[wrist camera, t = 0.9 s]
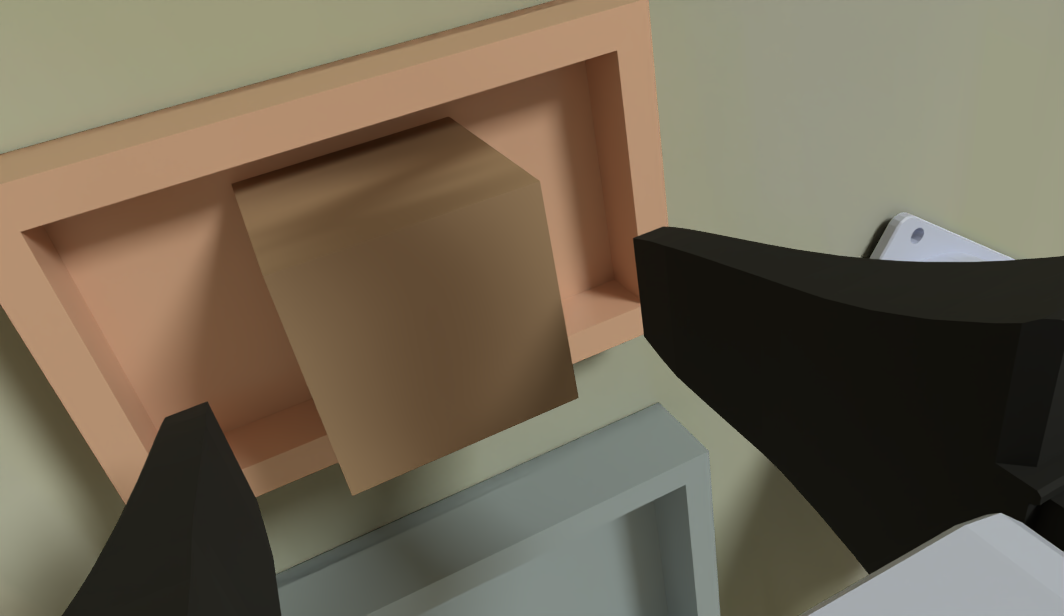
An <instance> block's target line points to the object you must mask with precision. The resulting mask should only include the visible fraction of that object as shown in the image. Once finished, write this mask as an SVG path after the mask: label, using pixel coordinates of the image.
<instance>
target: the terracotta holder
mask: <svg viewBox="0 0 1064 616" xmlns="http://www.w3.org/2000/svg"><path fill="white" fill-rule="evenodd" d="M445 117H450V118H452V119H453V120H454V121H456V122H457V123H459V124H460V125H462V126H463V127H464V128H466V129H467V130H469V131H470V132H471V133H473V134H474V135H476V136H477V137H478V138H480V139H481V140H483V141H484V142H486V143H487V144H488V145H490V146H491V147H493V148H494V149H495V150H497V151H498V152H500V153H501V154H503V155H504V156H505V157H507V158H508V159H510V160H511V161H512V162H514V163H515V164H517V165H518V166H519V167H521V168H522V169H524V170H525V171H527V172H528V173H529V174H531V175H532V176H534V177H535V178H536V179H538V180H539V181H540V185H541V190H542V196H543V201H544V207H545V213H546V218H547V224H548V229H549V235H550V241H551V246H552V252H553V257H554V263H555V269H556V274H557V280H558V286H559V291H560V297H561V302H562V308H563V314H564V319H565V325H566V330H567V336H568V342H569V347H570V353H571V358H572V364H574V363H576V362H579V361H581V360H583V359H586V358H588V357H591V356H593V355H595V354H598V353H600V352H602V351H605V350H607V349H610V348H612V347H614V346H617V345H619V344H621V343H624V342H626V341H629V340H631V339H633V338H636V337H638V336H641V335H643V334H644V332H643V323H642V314H641V305H640V297H639V288H638V279H637V270H636V262H635V253H634V244H633V238H634V237H637V236H640V235H642V234H645V233H647V232H650V231H653V230H655V229H658V228H660V227H663V226H665V227H668V217H667V205H666V194H665V183H664V171H663V160H662V149H661V137H660V126H659V115H658V103H657V92H656V81H655V69H654V58H653V46H652V35H651V24H650V12H649V1H648V0H554V1H550V2H547V3H543V4H540V5H536V6H532V7H529V8H525V9H522V10H518V11H514V12H511V13H507V14H504V15H500V16H496V17H493V18H489V19H486V20H482V21H478V22H475V23H471V24H468V25H464V26H460V27H457V28H453V29H450V30H446V31H442V32H439V33H435V34H432V35H428V36H424V37H421V38H417V39H414V40H410V41H406V42H403V43H399V44H396V45H392V46H388V47H385V48H381V49H378V50H374V51H370V52H367V53H363V54H360V55H356V56H352V57H349V58H345V59H342V60H338V61H334V62H331V63H327V64H324V65H320V66H316V67H313V68H309V69H306V70H302V71H298V72H295V73H291V74H288V75H284V76H280V77H277V78H273V79H270V80H266V81H262V82H259V83H255V84H252V85H248V86H244V87H241V88H237V89H234V90H230V91H226V92H223V93H219V94H216V95H212V96H208V97H205V98H201V99H198V100H194V101H190V102H187V103H183V104H180V105H176V106H172V107H169V108H165V109H161V110H158V111H154V112H151V113H147V114H143V115H140V116H136V117H133V118H129V119H125V120H122V121H118V122H115V123H111V124H107V125H104V126H100V127H97V128H93V129H89V130H86V131H82V132H79V133H75V134H71V135H68V136H64V137H61V138H57V139H53V140H50V141H46V142H43V143H39V144H35V145H32V146H28V147H25V148H21V149H17V150H14V151H10V152H7V153H3V154H0V304H1V306H2V307H3V309H4V311H5V312H6V314H7V315H8V317H9V319H10V320H11V322H12V323H13V325H14V327H15V328H16V330H17V331H18V333H19V335H20V336H21V338H22V339H23V341H24V343H25V344H26V346H27V347H28V349H29V351H30V352H31V354H32V355H33V357H34V359H35V360H36V362H37V363H38V365H39V367H40V368H41V370H42V371H43V373H44V375H45V376H46V378H47V380H48V381H49V383H50V384H51V386H52V388H53V389H54V391H55V392H56V394H57V396H58V397H59V399H60V400H61V402H62V404H63V405H64V407H65V408H66V410H67V412H68V413H69V415H70V416H71V418H72V420H73V421H74V423H75V424H76V426H77V428H78V429H79V431H80V432H81V434H82V436H83V437H84V439H85V440H86V442H87V444H88V445H89V447H90V448H91V450H92V452H93V453H94V455H95V456H96V458H97V460H98V461H99V463H100V464H101V466H102V468H103V469H104V471H105V472H106V474H107V476H108V477H109V479H110V480H111V482H112V484H113V485H114V487H115V488H116V490H117V492H118V493H119V495H120V496H121V498H122V500H123V501H124V503H125V504H126V503H127V501H128V499H129V497H130V495H131V493H132V491H133V489H134V486H135V484H136V482H137V480H138V478H139V475H140V473H141V471H142V468H143V466H144V464H145V461H146V459H147V457H148V454H149V452H150V449H151V447H152V445H153V442H154V440H155V437H156V435H157V433H158V430H159V428H160V426H161V424H162V422H163V420H164V418H165V417H168V416H170V415H173V414H175V413H178V412H181V411H183V410H186V409H188V408H191V407H194V406H196V405H199V404H201V403H204V402H207V401H208V403H209V405H210V407H211V409H212V411H213V413H214V415H215V417H216V419H217V421H218V423H219V425H220V427H221V429H222V431H223V433H224V435H225V437H226V439H227V441H228V443H229V445H230V447H231V449H232V451H233V453H234V455H235V457H236V459H237V461H238V463H239V465H240V467H241V469H242V471H243V473H244V475H245V477H246V479H247V481H248V483H249V485H250V487H251V489H252V491H253V493H254V495H255V497H258V496H260V495H262V494H265V493H267V492H269V491H272V490H274V489H277V488H279V487H281V486H284V485H286V484H288V483H291V482H293V481H296V480H298V479H300V478H303V477H305V476H307V475H310V474H312V473H315V472H317V471H319V470H322V469H324V468H327V467H329V466H331V465H334V464H336V463H338V460H337V457H336V455H335V452H334V450H333V447H332V445H331V442H330V440H329V437H328V435H327V433H326V430H325V428H324V425H323V423H322V420H321V418H320V415H319V413H318V410H317V408H316V405H315V403H314V401H313V398H312V396H311V393H310V391H309V388H308V386H307V383H306V381H305V378H304V376H303V374H302V371H301V369H300V366H299V364H298V361H297V359H296V356H295V354H294V351H293V349H292V346H291V344H290V342H289V339H288V337H287V334H286V332H285V329H284V327H283V324H282V322H281V319H280V317H279V315H278V312H277V310H276V307H275V305H274V302H273V300H272V297H271V295H270V292H269V290H268V287H267V285H266V283H265V280H264V278H263V275H262V272H261V269H260V266H259V263H258V260H257V258H256V255H255V252H254V249H253V246H252V243H251V240H250V237H249V234H248V231H247V229H246V226H245V223H244V220H243V217H242V214H241V211H240V208H239V205H238V202H237V200H236V197H235V194H234V191H233V188H232V185H231V184H232V183H236V182H239V181H242V180H245V179H248V178H252V177H255V176H258V175H261V174H265V173H268V172H271V171H274V170H278V169H281V168H284V167H287V166H290V165H294V164H297V163H300V162H303V161H307V160H310V159H313V158H316V157H320V156H323V155H326V154H329V153H332V152H336V151H339V150H342V149H345V148H349V147H352V146H355V145H358V144H362V143H365V142H368V141H371V140H374V139H378V138H381V137H384V136H387V135H391V134H394V133H397V132H400V131H403V130H407V129H410V128H413V127H416V126H420V125H423V124H426V123H429V122H433V121H436V120H439V119H442V118H445Z"/></svg>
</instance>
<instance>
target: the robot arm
mask: <svg viewBox="0 0 1064 616" xmlns="http://www.w3.org/2000/svg"><path fill="white" fill-rule="evenodd" d="M633 244H634V253H635V262H636V270H637V279H638V288H639V297H640V305H641V314H642V323H643V332H644V337H645V338H646V339H647V341H648V342H649V343H650V344H651V346H652V347H653V348H654V350H655V351H656V352H657V353H658V355H659V356H660V357H661V358H662V360H663V361H664V362H665V363H666V364H667V365H668V367H669V368H670V369H671V370H672V371H673V372H674V374H675V375H676V376H677V377H678V378H679V379H680V380H681V381H682V382H684V383H685V384H686V385H687V386H688V387H689V388H690V389H691V390H692V391H693V392H694V393H696V394H697V395H698V396H699V397H700V398H701V399H702V400H703V401H704V402H705V403H707V404H708V405H709V406H710V407H711V408H712V409H713V410H714V411H716V412H717V413H718V414H719V415H720V416H721V417H722V418H723V419H725V420H726V421H727V422H728V423H729V424H730V425H731V426H732V427H734V428H735V429H736V430H737V431H738V432H739V433H740V434H741V435H743V436H744V437H745V438H746V439H747V440H748V441H749V442H750V443H752V444H753V445H754V446H755V447H756V448H757V449H758V450H759V451H761V452H762V453H763V454H764V455H765V456H766V457H767V458H768V459H769V460H770V461H771V462H772V463H773V464H774V465H775V466H776V467H777V468H778V469H779V470H780V471H781V472H782V473H783V474H784V475H785V476H786V477H787V478H788V480H789V481H790V482H791V483H792V484H793V485H794V486H795V487H796V489H797V490H798V491H799V492H800V493H801V494H802V495H803V496H804V497H805V499H806V500H807V501H808V502H809V503H810V504H811V505H812V506H813V507H814V509H815V510H816V511H817V512H818V513H819V514H820V516H821V517H822V518H823V519H824V520H825V521H826V523H827V524H828V525H829V526H830V527H831V529H832V530H833V531H834V532H835V533H836V535H837V536H838V537H839V538H840V539H841V541H842V542H843V543H844V544H845V545H846V546H847V548H848V549H849V550H850V551H851V552H852V554H853V555H854V556H855V557H856V559H857V560H858V561H859V562H860V564H861V565H862V566H863V567H864V569H865V570H866V571H867V573H868V574H869V575H868V576H866V577H864V578H863V579H861V580H859V581H858V582H856V583H854V584H852V585H851V586H849V587H847V588H845V589H844V590H842V591H840V592H838V593H837V594H835V595H833V596H831V597H830V598H828V599H826V600H824V601H823V602H821V603H819V604H817V605H816V606H814V607H812V608H810V609H809V610H807V611H805V612H803V613H802V614H800V615H798V616H1064V256H1060V257H1049V258H1035V259H1020V260H1015V259H1013V258H1011V257H1008V256H1006V255H1004V254H1001V253H999V252H997V251H994V250H992V249H990V248H987V247H985V246H983V245H981V244H978V243H976V242H974V241H971V240H969V239H967V238H964V237H962V236H960V235H958V234H955V233H953V232H951V231H948V230H946V229H944V228H941V227H939V226H937V225H935V224H932V223H930V222H928V221H925V220H923V219H921V218H918V217H916V216H914V215H911V214H909V213H905V212H902V213H899V214H897V215H896V216H895V217H893V218H892V219H891V221H890V222H889V224H888V225H887V227H886V229H885V231H884V233H883V235H882V236H881V238H880V240H879V242H878V244H877V246H876V247H875V249H874V251H873V253H872V255H871V257H870V258H869V259H868V258H856V257H847V256H838V255H831V254H824V253H817V252H810V251H803V250H797V249H791V248H785V247H779V246H774V245H768V244H763V243H758V242H752V241H747V240H742V239H737V238H732V237H727V236H722V235H717V234H712V233H707V232H701V231H696V230H690V229H684V228H676V227H665V226H663V227H660V228H658V229H655V230H653V231H650V232H647V233H645V234H642V235H640V236H637V237H634V238H633ZM62 616H281V609H280V601H279V594H278V588H277V581H276V574H275V567H274V560H273V555H272V551H271V548H270V544H269V540H268V537H267V533H266V530H265V526H264V523H263V519H262V516H261V512H260V509H259V505H258V502H257V499H256V497H255V495H254V493H253V491H252V489H251V487H250V485H249V483H248V481H247V479H246V477H245V475H244V473H243V471H242V469H241V467H240V465H239V463H238V461H237V459H236V457H235V455H234V453H233V451H232V449H231V447H230V445H229V443H228V441H227V439H226V437H225V435H224V433H223V431H222V429H221V427H220V425H219V423H218V421H217V419H216V417H215V415H214V413H213V411H212V409H211V407H210V405H209V403H208V401H207V402H204V403H201V404H199V405H196V406H194V407H191V408H188V409H186V410H183V411H181V412H178V413H175V414H173V415H170V416H168V417H165V418H164V420H163V422H162V424H161V426H160V428H159V430H158V433H157V435H156V437H155V440H154V442H153V445H152V447H151V449H150V452H149V454H148V457H147V459H146V461H145V464H144V466H143V468H142V471H141V473H140V475H139V478H138V480H137V482H136V484H135V486H134V489H133V491H132V493H131V495H130V497H129V499H128V501H127V503H126V505H125V508H124V510H123V512H122V514H121V516H120V518H119V520H118V522H117V524H116V526H115V528H114V530H113V532H112V534H111V535H110V537H109V539H108V541H107V543H106V545H105V546H104V548H103V550H102V552H101V554H100V556H99V557H98V559H97V561H96V563H95V565H94V567H93V568H92V570H91V572H90V574H89V575H88V577H87V579H86V580H85V582H84V583H83V585H82V586H81V588H80V590H79V591H78V593H77V594H76V596H75V597H74V599H73V600H72V602H71V603H70V605H69V606H68V608H67V609H66V610H65V612H64V613H63V615H62Z"/></svg>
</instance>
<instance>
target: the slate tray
mask: <svg viewBox="0 0 1064 616" xmlns="http://www.w3.org/2000/svg"><path fill="white" fill-rule="evenodd" d="M276 581H277V588H278V594H279V601H280V609H281V616H720V604H719V590H718V576H717V561H716V547H715V532H714V518H713V504H712V489H711V475H710V460H709V451H708V450H707V449H706V448H705V447H704V446H703V445H702V444H701V443H700V442H699V441H698V440H697V439H696V438H695V437H694V436H693V435H692V434H691V433H690V432H689V431H688V430H687V429H686V428H685V427H684V426H683V425H681V424H680V423H679V422H678V421H677V420H676V419H675V418H674V417H673V416H672V415H671V414H670V413H669V412H668V411H667V410H666V409H665V408H664V407H663V406H662V405H661V404H660V403H656V404H654V405H652V406H650V407H647V408H645V409H643V410H641V411H639V412H636V413H634V414H632V415H630V416H627V417H625V418H623V419H621V420H619V421H616V422H614V423H612V424H610V425H608V426H605V427H603V428H601V429H599V430H596V431H594V432H592V433H590V434H588V435H585V436H583V437H581V438H579V439H576V440H574V441H572V442H570V443H568V444H565V445H563V446H561V447H559V448H556V449H554V450H552V451H550V452H548V453H545V454H543V455H541V456H539V457H536V458H534V459H532V460H530V461H528V462H525V463H523V464H521V465H519V466H516V467H514V468H512V469H510V470H508V471H505V472H503V473H501V474H499V475H496V476H494V477H492V478H490V479H488V480H485V481H483V482H481V483H479V484H476V485H474V486H472V487H470V488H468V489H465V490H463V491H461V492H459V493H456V494H454V495H452V496H450V497H448V498H445V499H443V500H441V501H439V502H436V503H434V504H432V505H430V506H428V507H425V508H423V509H421V510H419V511H417V512H414V513H412V514H410V515H408V516H405V517H403V518H401V519H399V520H397V521H394V522H392V523H390V524H388V525H385V526H383V527H381V528H379V529H377V530H374V531H372V532H370V533H368V534H365V535H363V536H361V537H359V538H357V539H354V540H352V541H350V542H348V543H345V544H343V545H341V546H339V547H337V548H334V549H332V550H330V551H328V552H325V553H323V554H321V555H319V556H317V557H314V558H312V559H310V560H308V561H305V562H303V563H301V564H299V565H297V566H294V567H292V568H290V569H288V570H285V571H283V572H281V573H279V574H277V575H276Z"/></svg>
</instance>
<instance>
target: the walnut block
mask: <svg viewBox="0 0 1064 616" xmlns="http://www.w3.org/2000/svg"><path fill="white" fill-rule="evenodd" d="M231 185H232V188H233V191H234V194H235V197H236V200H237V202H238V205H239V208H240V211H241V214H242V217H243V220H244V223H245V226H246V229H247V231H248V234H249V237H250V240H251V243H252V246H253V249H254V252H255V255H256V258H257V260H258V263H259V266H260V269H261V272H262V275H263V278H264V280H265V283H266V285H267V287H268V290H269V292H270V295H271V297H272V300H273V302H274V305H275V307H276V310H277V312H278V315H279V317H280V319H281V322H282V324H283V327H284V329H285V332H286V334H287V337H288V339H289V342H290V344H291V346H292V349H293V351H294V354H295V356H296V359H297V361H298V364H299V366H300V369H301V371H302V374H303V376H304V378H305V381H306V383H307V386H308V388H309V391H310V393H311V396H312V398H313V401H314V403H315V405H316V408H317V410H318V413H319V415H320V418H321V420H322V423H323V425H324V428H325V430H326V433H327V435H328V437H329V440H330V442H331V445H332V447H333V450H334V452H335V455H336V457H337V460H338V462H339V464H340V467H341V469H342V472H343V474H344V477H345V479H346V482H347V484H348V487H349V489H350V492H351V494H352V496H354V495H356V494H358V493H360V492H363V491H365V490H367V489H370V488H372V487H374V486H377V485H379V484H381V483H384V482H386V481H388V480H390V479H393V478H395V477H397V476H400V475H402V474H404V473H407V472H409V471H411V470H413V469H416V468H418V467H420V466H423V465H425V464H427V463H430V462H432V461H434V460H436V459H439V458H441V457H443V456H446V455H448V454H450V453H453V452H455V451H457V450H459V449H462V448H464V447H466V446H469V445H471V444H473V443H476V442H478V441H480V440H482V439H485V438H487V437H489V436H492V435H494V434H496V433H499V432H501V431H503V430H506V429H508V428H510V427H512V426H515V425H517V424H519V423H522V422H524V421H526V420H529V419H531V418H533V417H535V416H538V415H540V414H542V413H545V412H547V411H549V410H552V409H554V408H556V407H558V406H561V405H563V404H565V403H568V402H570V401H572V400H575V399H577V398H578V392H577V386H576V381H575V375H574V370H573V364H572V358H571V353H570V347H569V342H568V336H567V330H566V325H565V319H564V314H563V308H562V302H561V297H560V291H559V286H558V280H557V274H556V269H555V263H554V257H553V252H552V246H551V241H550V235H549V229H548V224H547V218H546V213H545V207H544V201H543V196H542V190H541V185H540V181H539V180H538V179H536V178H535V177H534V176H532V175H531V174H529V173H528V172H527V171H525V170H524V169H522V168H521V167H519V166H518V165H517V164H515V163H514V162H512V161H511V160H510V159H508V158H507V157H505V156H504V155H503V154H501V153H500V152H498V151H497V150H495V149H494V148H493V147H491V146H490V145H488V144H487V143H486V142H484V141H483V140H481V139H480V138H478V137H477V136H476V135H474V134H473V133H471V132H470V131H469V130H467V129H466V128H464V127H463V126H462V125H460V124H459V123H457V122H456V121H454V120H453V119H452V118H450V117H445V118H442V119H439V120H436V121H433V122H429V123H426V124H423V125H420V126H416V127H413V128H410V129H407V130H403V131H400V132H397V133H394V134H391V135H387V136H384V137H381V138H378V139H374V140H371V141H368V142H365V143H362V144H358V145H355V146H352V147H349V148H345V149H342V150H339V151H336V152H332V153H329V154H326V155H323V156H320V157H316V158H313V159H310V160H307V161H303V162H300V163H297V164H294V165H290V166H287V167H284V168H281V169H278V170H274V171H271V172H268V173H265V174H261V175H258V176H255V177H252V178H248V179H245V180H242V181H239V182H236V183H232V184H231Z"/></svg>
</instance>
